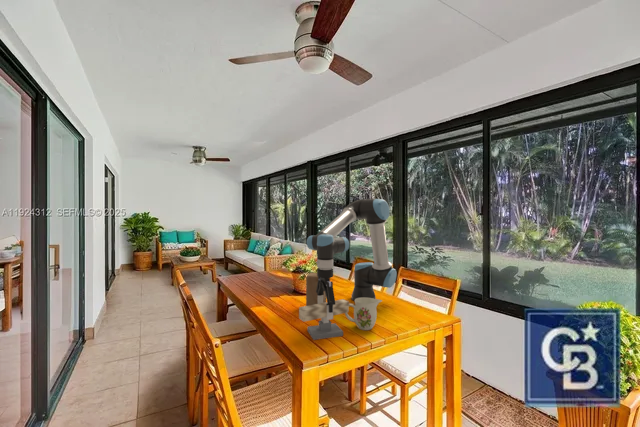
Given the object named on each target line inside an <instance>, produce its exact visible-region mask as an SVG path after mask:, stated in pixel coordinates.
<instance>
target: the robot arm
mask: <svg viewBox="0 0 640 427" xmlns="http://www.w3.org/2000/svg"><path fill="white" fill-rule="evenodd" d="M390 210H391V209H390V206H389V204H388V202H387V201H386V200H385V199H382V198H381V199H380V198H370V199H369V198H366V199H363V198H361V199H358V200H355V201H353V202H350V203H349V204H348V205H346V206H345V207H344V208H343V209H342V210H341V211H342V212H341V213H340V214H339V215H337V217H335V218H334V219H333V220H332V221H331V222H330V223H328V224H327V225H326V226H325V227H324V228H323V229H321V230H320V232H318V233H317V234H316V235H314V234H313V235H309V236H308V237H307V239H306V246H307V248H308V249H309V250H312V251H317V252H316V255H317V256H316V259H317V260H316V261H315V263H316V267H317V269H316V273H317V277H318V283H317V289H316V293H317V295H318V304H320V303H323V295H324V293H323V292H324V291H325V294H326V302H327V304H326V305H327V320H330V321H331V320H334V315H333V305H335V301H336V300H335V299H336V298H335V293H334V292H335V290H334V288H333V287H334V282H333V281H331V278H333V277H334V269H333V268H334V255H335V254H340V253H345V252H347V251H348V250H349V248H350V242H349V239H348V238H347V237H345V236H339V237H337V236H338V235H339V234H340V233H341V232H342V231H343V230H344V229H345V228H347V227H348V225H350V224H351V223H354V222H355V221H356V220H362V219H363V220H365V223H366V224H367V225H368V226H369V231H370V233H369V234H370V241H371V248H372V257H373V262H374V263H373V262H368V261H367V262H359V263H356V264H355V265H354V272H353V274H354V277H353V278H354V288H353V290H352V293H351V300H352V301H354V302H355V299H356V298H362V297H366V298H374V299H377V298H376V294H375V289H374V286H378V287H382V288H389V289H390V288H393V286H394V285H395V283H396V280H397V270H396V269H395V268H394V267H393V265H392V263H391V262H390V260H389V255H388V254H389V253H388V252H389V251H388V244H387V237H386V229H385V228H386V227H385V224H386V223H387V220H388V219H389V217H390V212H391V211H390Z"/></svg>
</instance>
